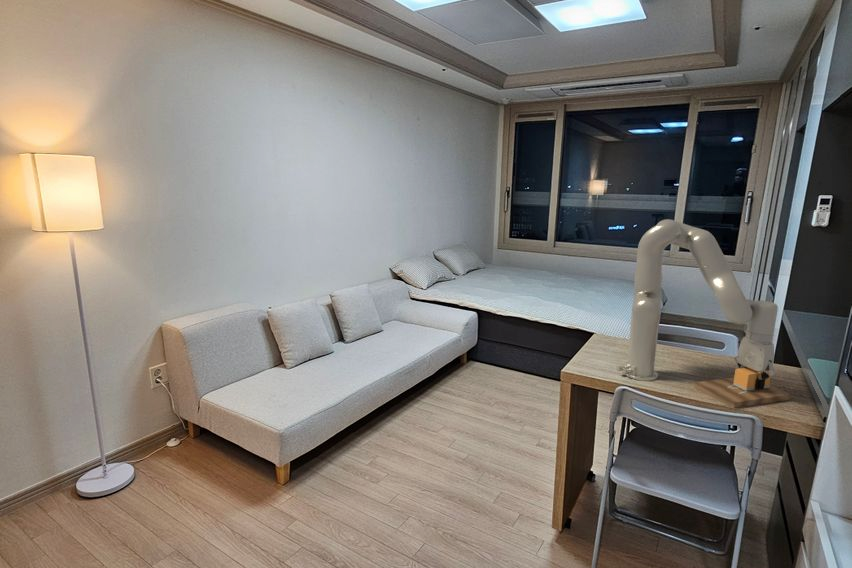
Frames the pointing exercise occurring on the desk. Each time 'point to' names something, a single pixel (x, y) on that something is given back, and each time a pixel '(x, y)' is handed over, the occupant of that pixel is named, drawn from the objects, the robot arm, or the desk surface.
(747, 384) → the block
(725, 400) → the walnut board
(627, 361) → the robot arm
